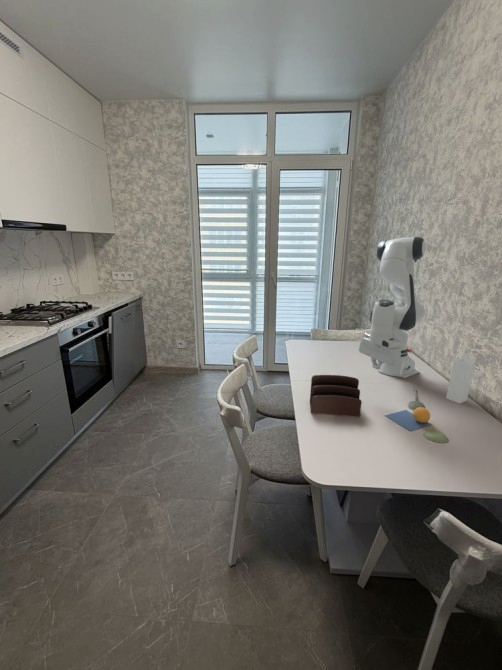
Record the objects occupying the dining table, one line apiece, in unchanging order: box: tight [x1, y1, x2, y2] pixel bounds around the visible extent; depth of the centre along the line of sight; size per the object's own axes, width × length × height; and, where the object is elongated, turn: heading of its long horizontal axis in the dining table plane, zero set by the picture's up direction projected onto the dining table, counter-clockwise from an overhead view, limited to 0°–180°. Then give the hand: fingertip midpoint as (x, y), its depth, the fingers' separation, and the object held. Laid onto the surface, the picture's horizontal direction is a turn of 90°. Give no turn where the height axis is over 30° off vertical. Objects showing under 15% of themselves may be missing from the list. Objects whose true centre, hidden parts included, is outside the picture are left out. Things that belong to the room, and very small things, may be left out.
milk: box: [445, 352, 476, 404], centre depth 138 cm, size 6×6×22 cm
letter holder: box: [309, 374, 363, 418], centre depth 130 cm, size 10×20×14 cm, turn 82°
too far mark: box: [422, 429, 449, 444], centre depth 113 cm, size 8×8×1 cm
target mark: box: [384, 409, 433, 432], centre depth 124 cm, size 12×12×1 cm
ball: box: [412, 407, 431, 423], centre depth 122 cm, size 6×6×6 cm
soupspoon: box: [407, 388, 426, 411], centre depth 140 cm, size 22×3×7 cm
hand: (376, 368), depth 136 cm, fingers closed
